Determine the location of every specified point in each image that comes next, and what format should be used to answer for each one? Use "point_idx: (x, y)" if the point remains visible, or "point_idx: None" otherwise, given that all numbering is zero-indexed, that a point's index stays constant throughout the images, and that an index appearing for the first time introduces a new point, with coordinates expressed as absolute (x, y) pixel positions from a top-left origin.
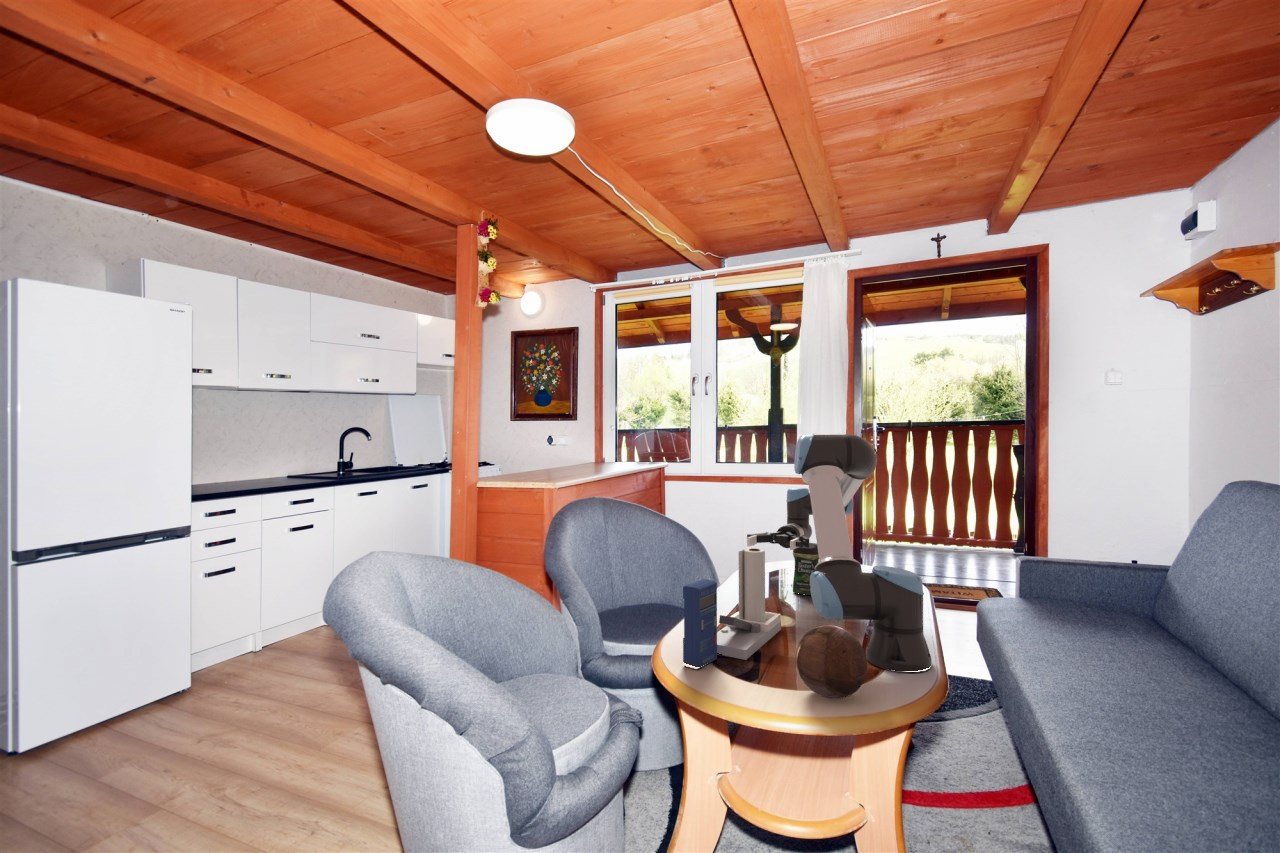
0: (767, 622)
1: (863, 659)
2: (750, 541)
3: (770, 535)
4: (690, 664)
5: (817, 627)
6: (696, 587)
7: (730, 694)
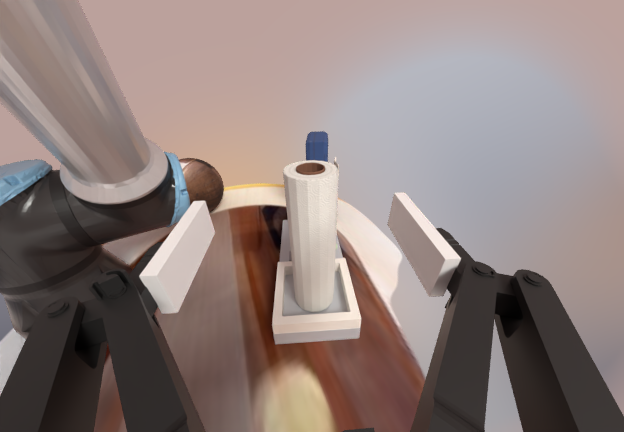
0: (281, 270)
1: None
2: (396, 216)
3: (430, 392)
4: None
5: (196, 161)
6: (311, 132)
7: (272, 191)
